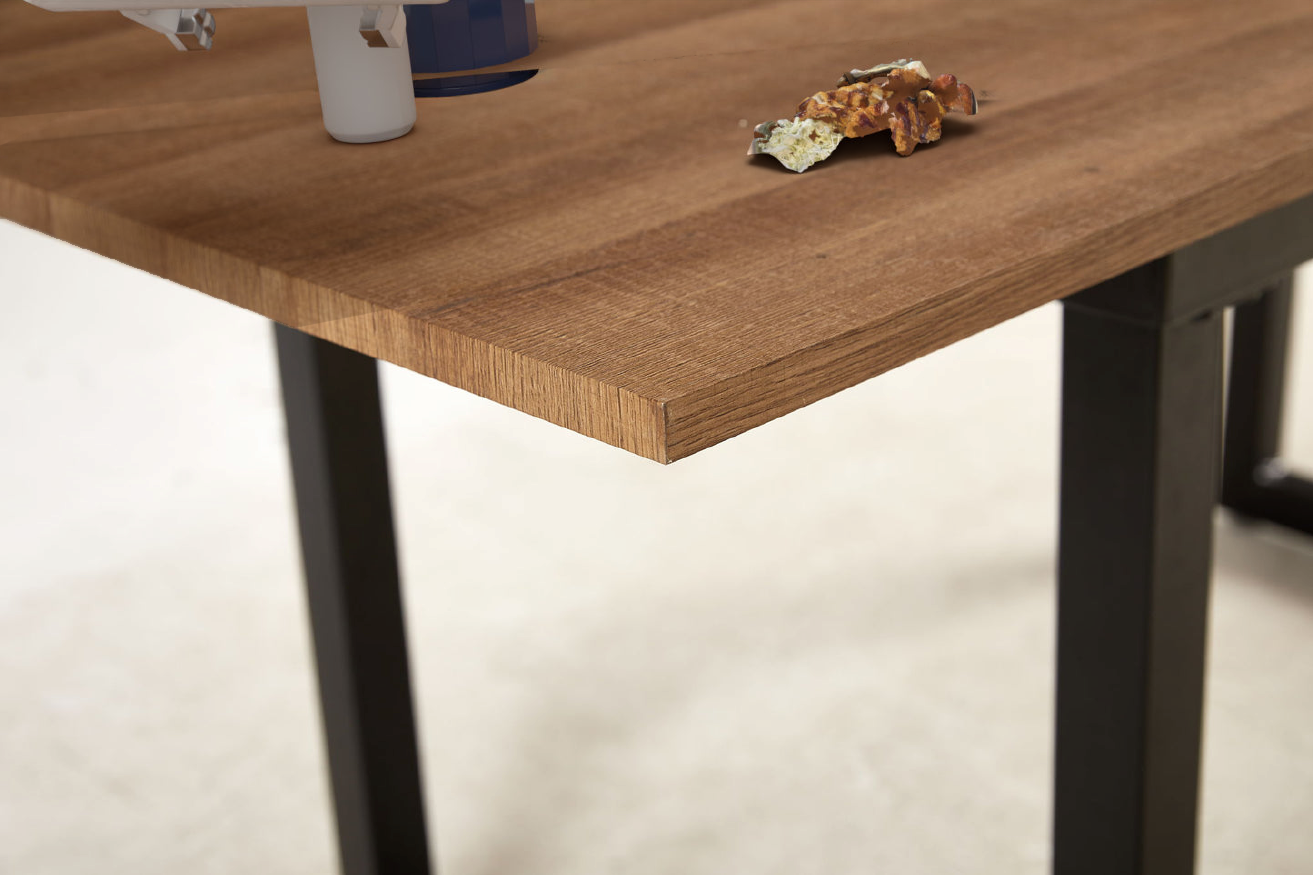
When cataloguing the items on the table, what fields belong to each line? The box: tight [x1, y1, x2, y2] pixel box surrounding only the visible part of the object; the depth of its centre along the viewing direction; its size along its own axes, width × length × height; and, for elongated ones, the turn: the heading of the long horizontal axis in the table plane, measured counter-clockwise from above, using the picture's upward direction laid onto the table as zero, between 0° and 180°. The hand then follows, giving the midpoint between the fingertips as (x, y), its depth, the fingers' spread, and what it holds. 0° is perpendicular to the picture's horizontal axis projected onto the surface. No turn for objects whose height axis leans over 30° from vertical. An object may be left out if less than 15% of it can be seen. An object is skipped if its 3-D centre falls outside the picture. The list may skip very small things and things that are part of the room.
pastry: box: [746, 57, 979, 173], centre depth 75 cm, size 7×12×4 cm, turn 133°
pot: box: [403, 0, 540, 99], centre depth 91 cm, size 10×10×8 cm
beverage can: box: [305, 5, 418, 144], centre depth 79 cm, size 5×5×12 cm
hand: (293, 36), depth 72 cm, fingers open, 8 cm apart
